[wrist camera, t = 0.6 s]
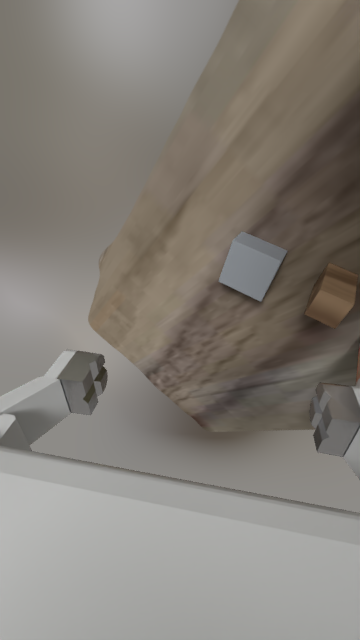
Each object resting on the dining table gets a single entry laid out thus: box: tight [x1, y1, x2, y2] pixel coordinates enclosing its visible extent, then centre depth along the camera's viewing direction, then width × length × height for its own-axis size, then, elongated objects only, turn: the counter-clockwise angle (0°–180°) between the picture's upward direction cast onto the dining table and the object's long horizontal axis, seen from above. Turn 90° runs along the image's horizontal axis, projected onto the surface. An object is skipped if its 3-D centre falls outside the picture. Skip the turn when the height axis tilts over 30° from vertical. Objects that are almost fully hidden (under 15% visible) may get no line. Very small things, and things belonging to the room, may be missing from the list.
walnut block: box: [304, 263, 358, 329], centre depth 48 cm, size 5×5×10 cm
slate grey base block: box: [219, 231, 287, 302], centre depth 55 cm, size 9×9×5 cm
